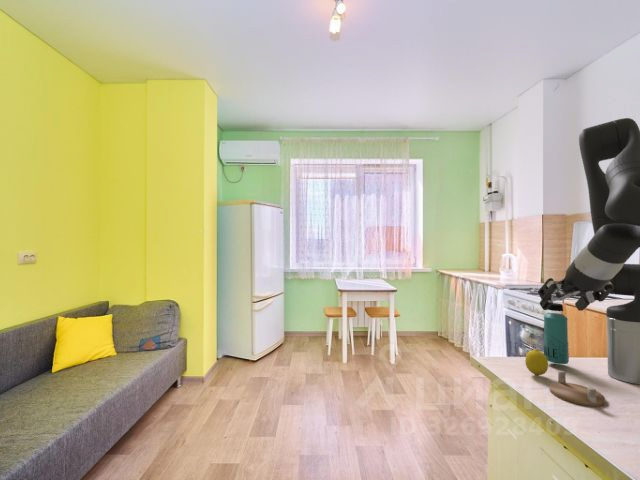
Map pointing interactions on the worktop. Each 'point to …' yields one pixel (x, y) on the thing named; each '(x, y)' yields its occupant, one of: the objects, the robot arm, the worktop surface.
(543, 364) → the lemon
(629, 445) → the worktop surface
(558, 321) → the beverage bottle
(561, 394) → the pin dish
